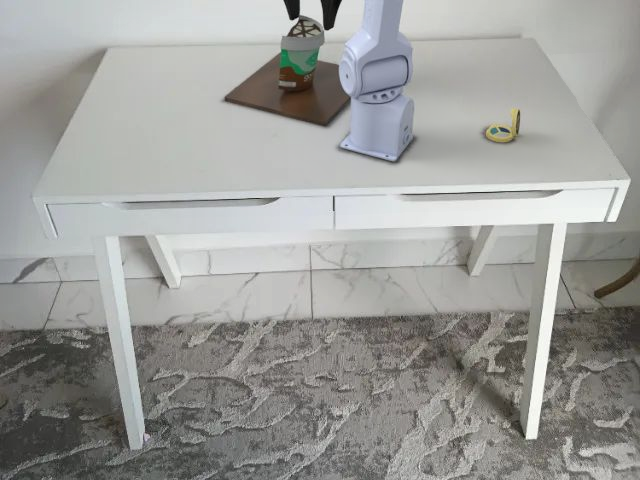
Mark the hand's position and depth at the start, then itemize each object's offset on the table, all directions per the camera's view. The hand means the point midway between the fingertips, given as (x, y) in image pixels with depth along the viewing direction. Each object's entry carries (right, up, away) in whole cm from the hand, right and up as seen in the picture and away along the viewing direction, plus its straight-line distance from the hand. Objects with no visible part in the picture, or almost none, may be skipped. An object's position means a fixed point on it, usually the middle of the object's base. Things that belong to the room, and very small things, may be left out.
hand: (311, 23), depth 116 cm
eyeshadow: (+31, -21, -9) cm, 39 cm away
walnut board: (-2, -11, +4) cm, 11 cm away
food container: (-2, -10, +3) cm, 10 cm away
